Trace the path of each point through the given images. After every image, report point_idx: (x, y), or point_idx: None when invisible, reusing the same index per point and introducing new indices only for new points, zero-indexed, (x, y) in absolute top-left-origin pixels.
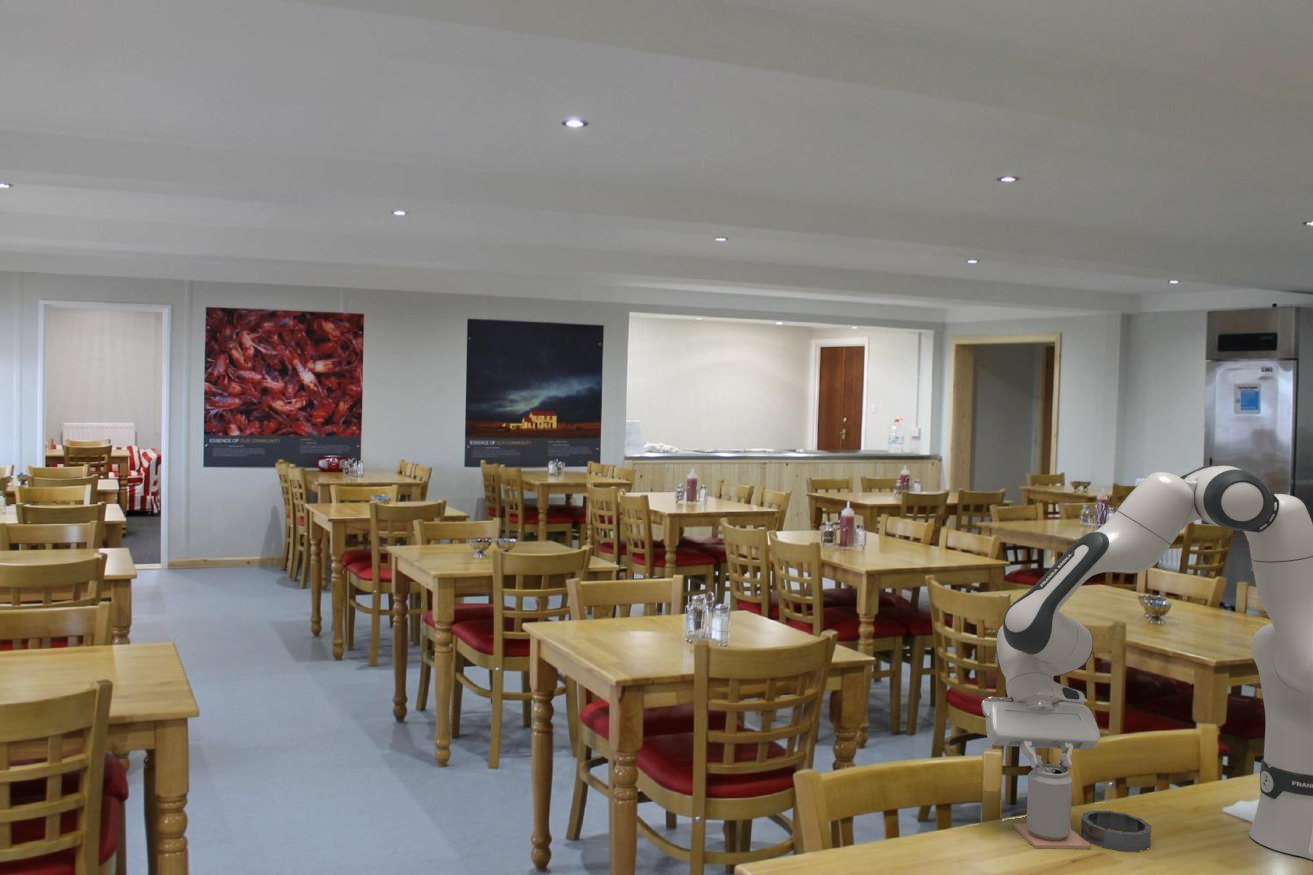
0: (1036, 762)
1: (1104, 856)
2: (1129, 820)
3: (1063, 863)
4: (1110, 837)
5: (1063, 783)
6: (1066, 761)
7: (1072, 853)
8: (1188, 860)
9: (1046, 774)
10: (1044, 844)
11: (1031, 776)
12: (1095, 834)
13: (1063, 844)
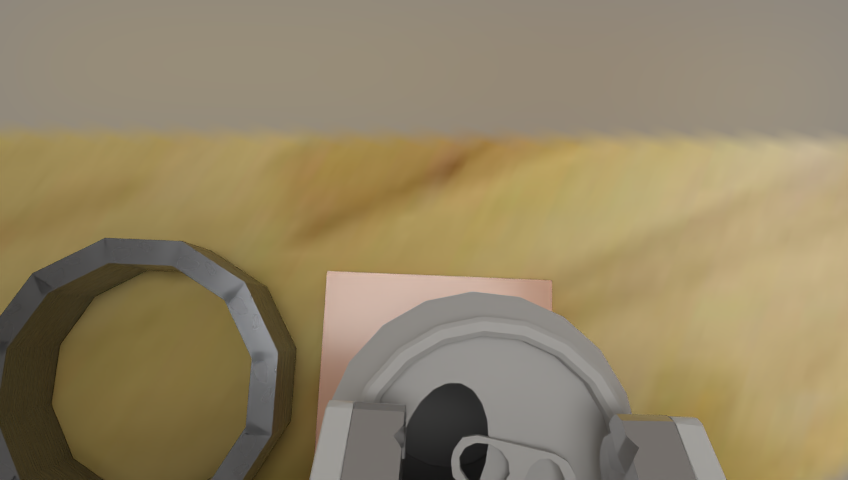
0: (682, 422)
1: (312, 203)
2: (25, 454)
3: (501, 145)
4: (233, 271)
5: (449, 297)
6: (369, 428)
7: (423, 232)
8: (7, 165)
9: (574, 348)
10: (512, 284)
11: None
12: (273, 322)
13: (433, 284)
